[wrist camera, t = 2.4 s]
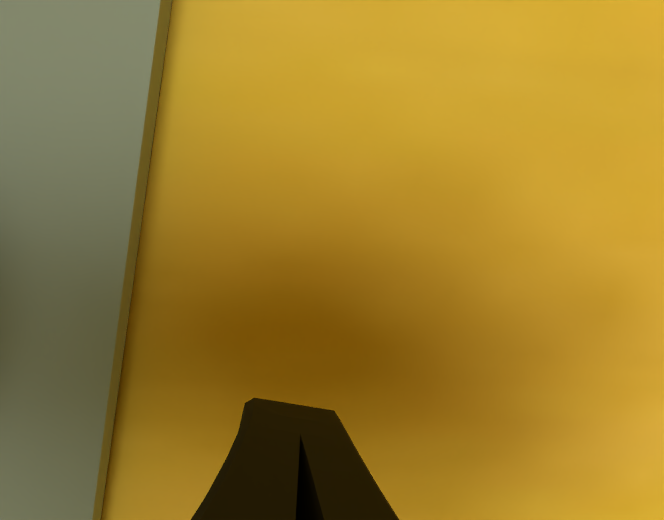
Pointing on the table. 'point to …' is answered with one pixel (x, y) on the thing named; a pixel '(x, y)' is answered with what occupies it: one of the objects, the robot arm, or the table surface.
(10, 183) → the base plate
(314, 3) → the table surface
